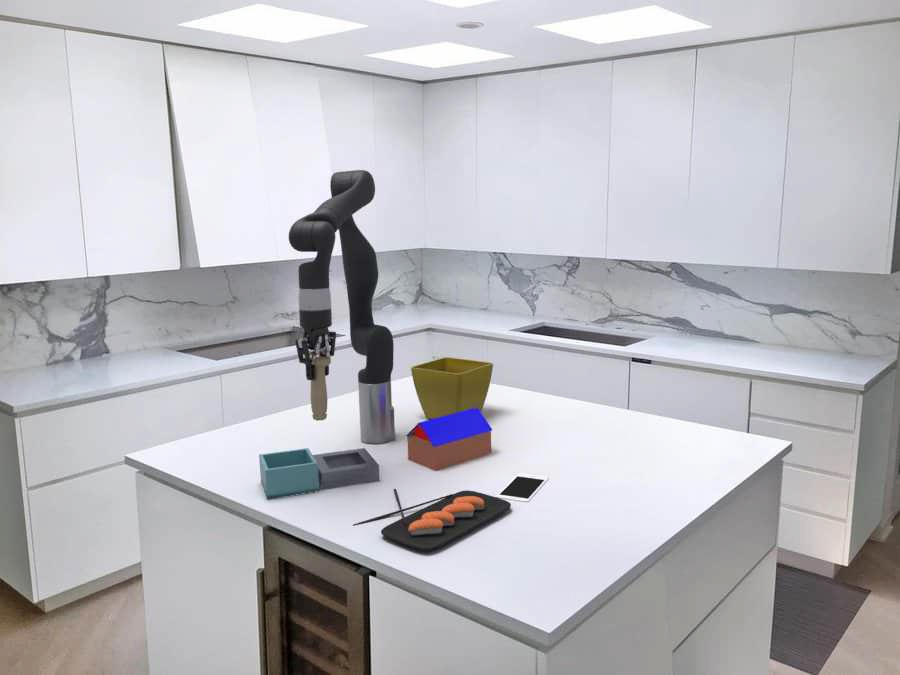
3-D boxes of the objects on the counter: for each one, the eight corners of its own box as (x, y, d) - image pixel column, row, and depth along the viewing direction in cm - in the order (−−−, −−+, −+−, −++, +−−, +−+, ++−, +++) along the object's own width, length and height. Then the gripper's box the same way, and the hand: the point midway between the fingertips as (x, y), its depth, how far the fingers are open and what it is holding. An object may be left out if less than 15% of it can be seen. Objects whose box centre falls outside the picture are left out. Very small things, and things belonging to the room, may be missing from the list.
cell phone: (549, 479, 183) (549, 477, 183) (528, 504, 169) (527, 501, 169) (518, 475, 187) (518, 473, 187) (495, 499, 172) (495, 496, 172)
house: (406, 460, 199) (404, 417, 197) (463, 443, 211) (462, 403, 209) (434, 472, 190) (433, 427, 188) (493, 454, 202) (492, 411, 200)
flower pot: (446, 405, 250) (445, 356, 247) (495, 414, 239) (494, 362, 236) (410, 419, 235) (409, 367, 232) (460, 429, 224) (459, 374, 221)
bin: (309, 474, 189) (308, 448, 188) (319, 491, 178) (317, 463, 177) (260, 481, 185) (259, 454, 184) (267, 499, 174) (265, 470, 173)
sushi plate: (428, 560, 144) (427, 542, 143) (324, 520, 163) (323, 503, 162) (516, 511, 165) (516, 494, 165) (416, 481, 185) (415, 466, 184)
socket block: (365, 462, 197) (364, 448, 196) (379, 480, 184) (378, 465, 183) (311, 470, 192) (310, 455, 192) (322, 489, 179) (321, 473, 179)
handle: (326, 423, 179) (324, 361, 177) (302, 420, 181) (300, 359, 179) (336, 417, 184) (334, 357, 181) (313, 415, 186) (310, 355, 183)
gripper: (311, 311, 170) (314, 385, 173) (345, 304, 183) (347, 372, 186) (283, 310, 173) (287, 382, 176) (318, 302, 186) (321, 370, 189)
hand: (318, 377), depth 181 cm, fingers closed on handle, 5 cm apart
